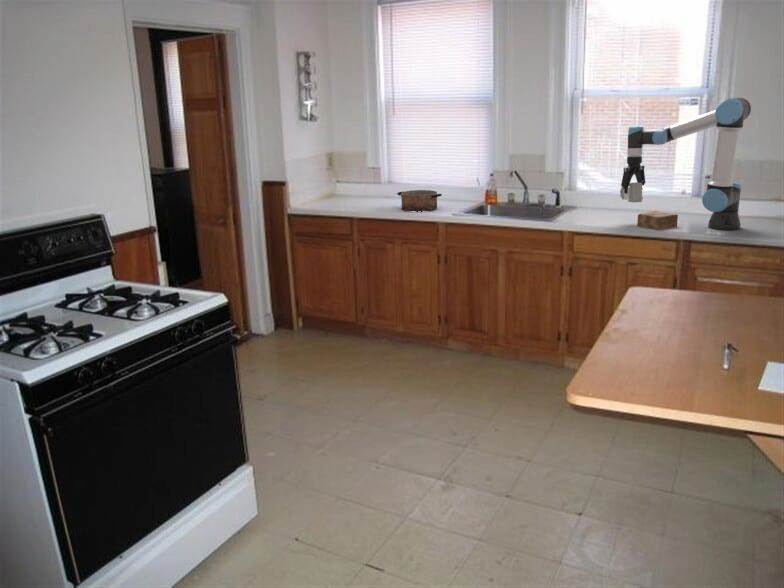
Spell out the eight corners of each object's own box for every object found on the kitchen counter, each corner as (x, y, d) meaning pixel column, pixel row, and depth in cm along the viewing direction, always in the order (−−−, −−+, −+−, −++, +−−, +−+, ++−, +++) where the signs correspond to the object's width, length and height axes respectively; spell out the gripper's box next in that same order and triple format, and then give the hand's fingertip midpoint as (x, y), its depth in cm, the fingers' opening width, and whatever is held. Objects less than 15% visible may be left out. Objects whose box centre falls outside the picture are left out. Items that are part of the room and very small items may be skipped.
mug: (643, 202, 376) (645, 179, 373) (620, 202, 378) (621, 180, 375) (641, 200, 383) (642, 178, 380) (618, 200, 385) (619, 178, 382)
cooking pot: (448, 208, 448) (448, 191, 445) (431, 213, 430) (431, 196, 427) (408, 205, 464) (407, 189, 461) (389, 210, 446) (389, 193, 443)
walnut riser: (676, 226, 371) (677, 214, 370) (659, 229, 364) (660, 217, 363) (654, 222, 383) (655, 211, 381) (637, 225, 376) (638, 214, 374)
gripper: (642, 154, 383) (640, 195, 389) (614, 157, 372) (613, 200, 378) (654, 154, 377) (651, 196, 383) (626, 157, 366) (624, 201, 372)
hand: (632, 198), depth 380 cm, fingers closed on mug, 9 cm apart
